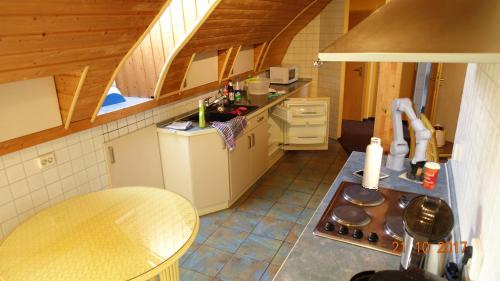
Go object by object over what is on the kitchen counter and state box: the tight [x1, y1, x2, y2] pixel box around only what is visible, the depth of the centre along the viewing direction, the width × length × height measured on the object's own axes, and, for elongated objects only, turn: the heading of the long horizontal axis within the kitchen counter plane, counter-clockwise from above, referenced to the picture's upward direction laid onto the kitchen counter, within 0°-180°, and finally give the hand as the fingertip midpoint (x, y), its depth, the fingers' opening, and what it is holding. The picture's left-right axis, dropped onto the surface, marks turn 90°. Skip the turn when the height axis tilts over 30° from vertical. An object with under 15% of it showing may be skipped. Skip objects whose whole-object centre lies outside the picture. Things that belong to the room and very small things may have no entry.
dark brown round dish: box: [406, 169, 424, 183], centre depth 204 cm, size 11×11×3 cm
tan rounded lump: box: [413, 167, 423, 176], centre depth 204 cm, size 5×5×6 cm
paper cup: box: [422, 161, 441, 190], centre depth 191 cm, size 8×8×14 cm
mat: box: [397, 172, 423, 185], centre depth 206 cm, size 14×12×1 cm
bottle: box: [361, 137, 384, 190], centre depth 187 cm, size 8×8×28 cm
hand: (416, 172), depth 204 cm, fingers open, 7 cm apart
